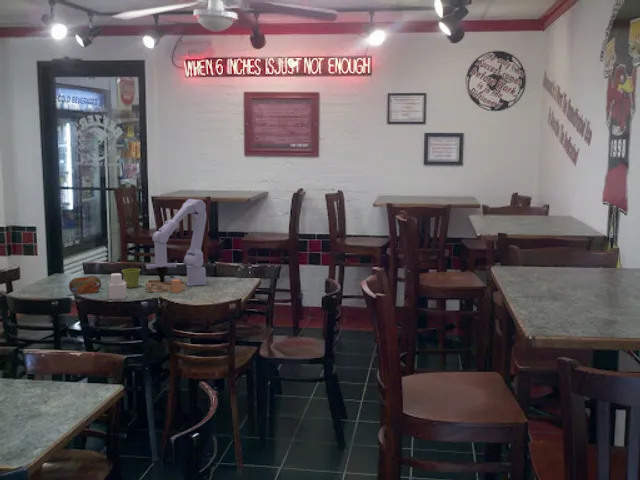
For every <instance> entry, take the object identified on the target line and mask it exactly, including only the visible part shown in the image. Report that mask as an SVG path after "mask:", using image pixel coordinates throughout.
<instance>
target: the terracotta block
mask: <svg viewBox="0 0 640 480" xmlns="http://www.w3.org/2000/svg"><path fill="white" fill-rule="evenodd" d="M171 290H172V291H171V293H172V294H178V293H180V294H181V293H182V290H181V280H180V279H174V280H171Z"/></svg>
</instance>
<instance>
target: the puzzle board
mask: <svg viewBox="0 0 640 480" xmlns="http://www.w3.org/2000/svg"><path fill="white" fill-rule="evenodd" d="M144 285H145V289H147V290H146V291H147V293H148V292H149V294H151V293H150V292H154V293H162V292H163V293H164V291H166V292H172V290H171V282H166V283H164V282H162V283H161V282H160V278H159V279H148V281H146V282H145V283H144ZM181 291H186V281H184V280H182V281H181Z"/></svg>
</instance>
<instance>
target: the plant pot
mask: <svg viewBox="0 0 640 480" xmlns="http://www.w3.org/2000/svg"><path fill="white" fill-rule="evenodd" d="M121 273H123V275H124V282H126V288H127V287H128V288H127V289H129V288H130V289H132V288H138V287H139V281H140V280H139V278H140V273H141V268H125V269H122V270H121ZM137 286H138V287H137Z"/></svg>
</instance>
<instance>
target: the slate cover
mask: <svg viewBox="0 0 640 480" xmlns="http://www.w3.org/2000/svg"><path fill="white" fill-rule="evenodd" d="M174 279H180V280H181V281H183V280H182V279H183V278H182V277H181V276H180V275H170V276H165V277H164V283H166V282H171V280H174Z"/></svg>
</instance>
